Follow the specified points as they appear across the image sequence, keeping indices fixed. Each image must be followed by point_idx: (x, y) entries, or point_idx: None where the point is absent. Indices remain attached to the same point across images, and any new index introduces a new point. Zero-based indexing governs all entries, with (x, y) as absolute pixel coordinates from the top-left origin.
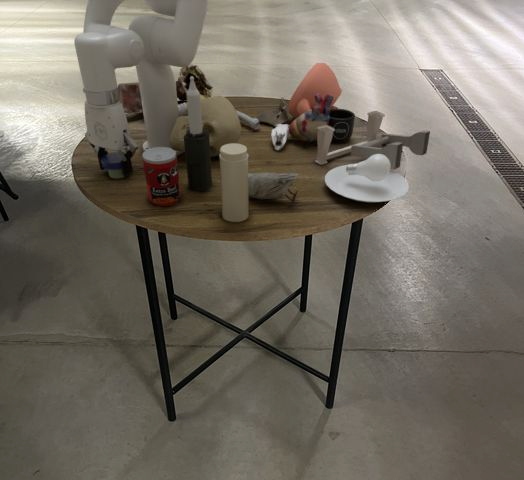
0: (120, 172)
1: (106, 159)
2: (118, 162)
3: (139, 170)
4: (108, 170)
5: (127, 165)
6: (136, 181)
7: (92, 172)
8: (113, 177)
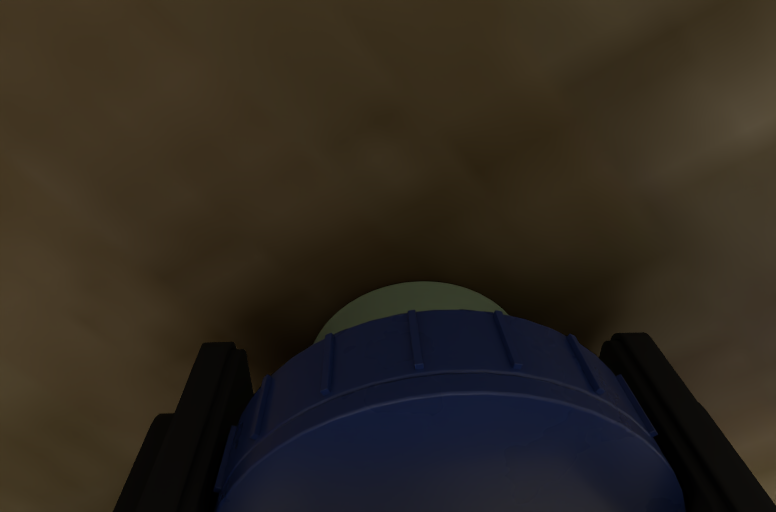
0: None
1: (533, 484)
2: (233, 499)
3: None
4: None
5: (120, 502)
6: (107, 346)
7: (749, 271)
8: (403, 286)
